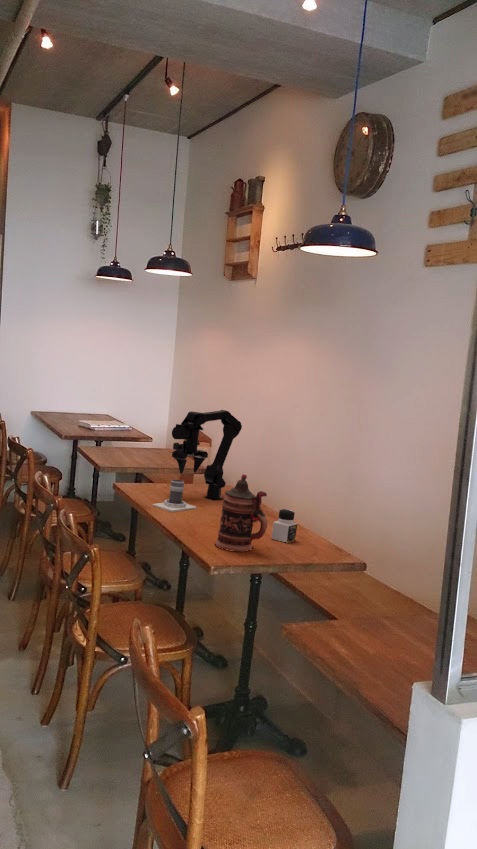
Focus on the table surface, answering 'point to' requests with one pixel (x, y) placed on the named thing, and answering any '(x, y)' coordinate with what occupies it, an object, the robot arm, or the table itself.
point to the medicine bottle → (284, 526)
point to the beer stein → (240, 518)
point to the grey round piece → (176, 491)
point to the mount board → (189, 507)
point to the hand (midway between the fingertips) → (188, 472)
